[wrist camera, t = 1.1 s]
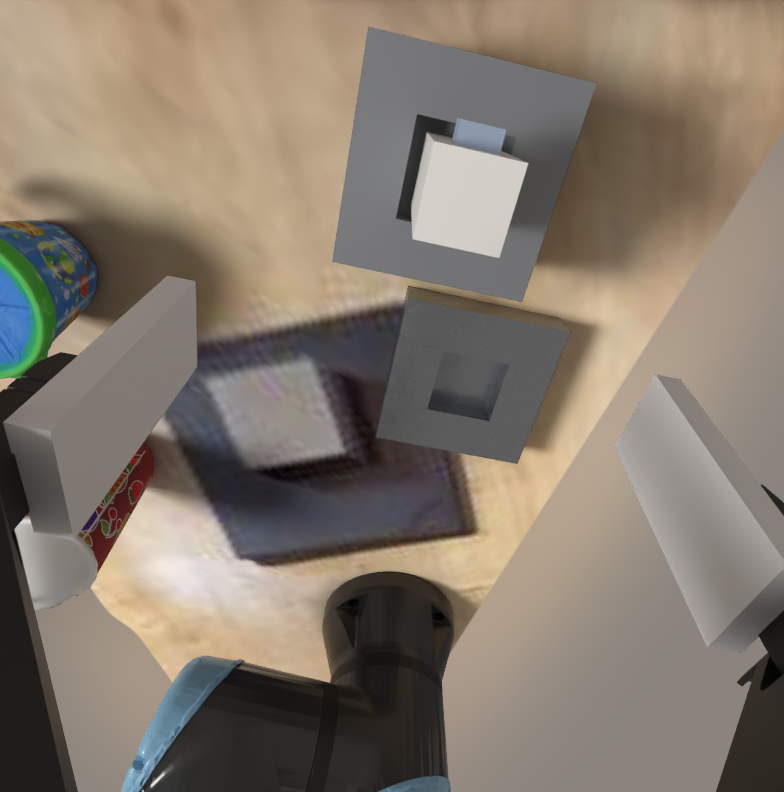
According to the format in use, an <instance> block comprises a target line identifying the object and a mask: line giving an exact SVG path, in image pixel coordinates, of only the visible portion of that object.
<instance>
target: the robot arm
mask: <svg viewBox="0 0 784 792" xmlns="http://www.w3.org/2000/svg"><path fill="white" fill-rule="evenodd" d="M196 368H197V322H196V281H192V280H187V279H182V278H177V277H172V276H166V277H165V278H164V279H163V280H162V281H161V282H160V283H159V284H157V285H156V286H155V287H154V288H153V289H152V290H151V291H150V292H148V293H147V294H146V295H145V296H144V297H143V298H142V299H141V300H139V301H138V302H137V303H136V304H135V305H134V306H133V307H132V308H131V309H129V310H128V311H127V312H126V313H125V314H124V315H123V316H122V317H120V318H119V319H118V320H117V321H116V322H115V323H114V324H113V325H111V326H110V327H109V328H108V329H107V330H106V331H105V332H104V333H103V334H101V335H100V336H99V337H98V338H97V339H96V340H95V341H94V342H92V343H91V344H90V345H89V346H88V347H87V348H86V349H85V350H84V351H82V352H81V353H80V354H79V355H78V356H77V355H72V354H67V353H62V352H60V353H58V354H56V355H53V356H51V357H48V358H46V359H44V360H41V361H39V362H37V363H36V364H34V365H33V366H32V367H31V368H29V369H28V370H27V371H26V372H25V373H23V374H22V375H21V378H17V379H16V380H15V381H14V382H12V383H11V384H10V385H9V386H8V388H7V390H6V389H4V390H3V391H1V392H0V792H78V791H77V787H76V782H75V778H74V774H73V770H72V766H71V761H70V757H69V753H68V749H67V745H66V740H65V736H64V732H63V728H62V724H61V720H60V715H59V711H58V707H57V703H56V698H55V695H54V690H53V686H52V682H51V678H50V673H49V669H48V665H47V661H46V657H45V652H44V648H43V644H42V640H41V636H40V632H39V628H38V623H37V619H36V615H35V610H34V606H33V602H32V598H31V594H30V589H29V585H28V581H27V577H26V573H25V568H24V564H23V560H22V556H21V552H20V548H19V543H18V539H17V536H16V533H15V528H16V527H17V526H18V524H19V523H20V522H21V521H22V520H23V519H24V517H25V516H26V515H27V514H28V513H29V517H30V520H31V524H32V528H33V531H34V533H36V534H42V535H48V536H54V537H60V538H65V539H71V540H74V539H75V538H76V537H77V535H78V534H79V532H80V531H81V530H82V528H83V527H84V525H85V524H86V523H87V521H88V520H89V518H90V517H91V516H92V514H93V513H94V511H95V510H96V508H97V507H98V506H99V504H100V503H101V501H102V500H103V499H104V497H105V496H106V494H107V493H108V492H109V490H110V489H111V487H112V486H113V485H114V483H115V482H116V480H117V479H118V478H119V476H120V475H121V473H122V472H123V471H124V469H125V468H126V466H127V465H128V463H129V462H130V461H131V459H132V458H133V456H134V455H135V454H136V452H137V451H138V449H139V448H140V447H141V445H142V444H143V442H144V441H145V440H146V438H147V437H148V435H149V434H150V433H151V431H152V430H153V428H154V427H155V426H156V424H157V423H158V421H159V420H160V418H161V417H162V416H163V414H164V413H165V411H166V410H167V409H168V407H169V406H170V404H171V403H172V402H173V400H174V399H175V397H176V396H177V395H178V393H179V392H180V390H181V389H182V388H183V386H184V385H185V383H186V382H187V381H188V379H189V378H190V376H191V375H192V373H193V372H194V371H195V369H196ZM615 450H616V452H617V454H618V456H619V458H620V460H621V462H622V465H623V467H624V469H625V471H626V473H627V475H628V478H629V480H630V482H631V484H632V486H633V488H634V491H635V493H636V495H637V497H638V499H639V501H640V503H641V506H642V508H643V510H644V512H645V514H646V516H647V519H648V521H649V523H650V525H651V527H652V529H653V531H654V534H655V536H656V538H657V540H658V542H659V544H660V546H661V549H662V551H663V553H664V555H665V557H666V559H667V562H668V564H669V566H670V568H671V570H672V572H673V575H674V577H675V579H676V581H677V583H678V585H679V587H680V590H681V592H682V594H683V596H684V598H685V600H686V602H687V605H688V607H689V609H690V611H691V613H692V615H693V618H694V620H695V622H696V624H697V626H698V628H699V631H700V632H701V635H702V637H703V639H704V641H705V643H706V646H707V647H708V648H714V649H720V650H725V651H732V652H737V653H742V652H743V651H744V650H745V649H746V648H747V647H748V646H750V644H752V642H754V641H755V640H756V639H757V638H758V637H760V639H761V640H762V643H763V644H764V646H765V648H766V650H767V651H768V653H767V654H766V655H765V656H764V657H763V658H762V659H761V660H759V661H758V662H757V663H756V664H755V665H754V666H753V667H752V668H751V669H750V670H748V671H747V672H746V673H745V674H744V675H743V676H742V677H741V678H740V679H739V680H738V682H737V683H738V684H740V685H741V686H743V685H744V684H745V683H746V682H748V681H752V682H751V685H750V689H749V691H748V694H747V698H746V701H745V704H744V707H743V710H742V713H741V716H740V719H739V722H738V725H737V729H736V732H735V735H734V738H733V741H732V744H731V747H730V750H729V754H728V757H727V760H726V763H725V766H724V769H723V772H722V775H721V778H720V781H719V784H718V787H717V791H716V792H784V503H783V502H782V501H781V500H780V499H779V498H778V497H776V496H775V495H774V494H773V493H772V492H770V491H769V490H768V489H767V488H766V487H765V486H763V485H760V484H759V483H758V482H757V480H756V479H755V477H754V476H753V475H752V473H751V472H750V471H749V469H748V468H747V467H746V465H745V464H744V463H743V461H742V460H741V459H740V457H739V456H738V455H737V453H736V452H735V451H734V449H733V448H732V447H731V446H730V444H729V443H728V442H727V440H726V439H725V438H724V436H723V435H722V434H721V432H720V431H719V430H718V428H717V427H716V426H715V425H714V423H713V422H712V421H711V419H710V418H709V416H708V415H707V414H706V413H705V411H704V410H703V408H702V407H701V406H700V404H699V403H698V402H697V401H696V399H695V398H694V397H693V395H692V394H691V393H690V391H689V390H688V389H687V388H686V386H685V385H684V383H683V382H682V381H681V379H675V378H671V377H666V376H660V375H655V376H654V378H653V379H652V381H651V383H650V385H649V387H648V388H647V390H646V392H645V394H644V395H643V397H642V399H641V401H640V402H639V405H638V406H637V408H636V410H635V411H634V413H633V415H632V417H631V419H630V420H629V422H628V424H627V426H626V427H625V429H624V431H623V433H622V435H621V436H620V438H619V440H618V442H617V443H616V445H615ZM322 630H323V638H324V643H325V648H326V653H327V658H328V663H329V668H330V673H331V682H330V683H328V682H323V681H320V680H316V679H312V678H307V677H303V676H299V675H294V674H290V673H286V672H282V671H278V670H274V669H270V668H266V667H262V666H258V665H254V664H250V663H246V662H245V661H244V660H242V659H239V660H228V659H222V658H217V657H211V656H201V657H197V658H195V659H193V660H192V661H190V662H189V663H188V664H187V665H186V666H185V667H184V668H183V669H182V670H181V672H180V673H179V674H178V676H177V677H176V679H175V680H174V682H173V683H172V685H171V687H170V688H169V690H168V692H167V694H166V695H165V697H164V699H163V700H162V702H161V704H160V706H159V708H158V710H157V712H156V713H155V715H154V717H153V719H152V721H151V723H150V725H149V727H148V729H147V731H146V733H145V735H144V737H143V739H142V742H141V744H140V746H139V748H138V753H137V756H136V757H135V758H134V761H133V763H132V765H131V767H130V769H129V771H128V773H127V775H126V778H125V781H124V783H123V786H122V790H121V792H450V781H449V780H448V767H447V752H446V738H445V724H444V711H443V695H442V678H443V675H444V671H445V668H446V664H447V660H448V657H449V653H450V649H451V646H452V642H453V637H454V623H453V612H452V608H451V605H450V603H449V601H448V600H447V598H446V597H445V596H444V594H443V593H442V592H441V591H440V590H438V589H437V588H436V587H434V586H433V585H431V584H430V583H428V582H426V581H424V580H422V579H419V578H417V577H414V576H410V575H406V574H401V573H389V572H384V573H372V574H367V575H363V576H360V577H357V578H354V579H352V580H350V581H348V582H346V583H344V584H343V585H341V586H340V587H339V588H337V589H336V590H335V591H334V592H333V594H332V595H331V596H330V598H329V599H328V601H327V604H326V607H325V612H324V619H323V627H322Z"/></svg>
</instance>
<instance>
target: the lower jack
mask: <svg viewBox="0 0 784 792" xmlns="http://www.w3.org/2000/svg"><path fill="white" fill-rule="evenodd" d="M569 334H570V331H569V330H568V328H567V327H566V326H565V324H564V323H563V321H562V320H561V319H560V318H556V317H551V316H547V315H542V314H537V313H532V312H528V311H523V310H518V309H513V308H509V307H504V306H499V305H495V304H490V303H485V302H480V301H476V300H471V299H466V298H461V297H457V296H452V295H447V294H443V293H438V292H433V291H428V290H424V289H419V288H414V287H410V286H408V288H407V292H406V297H405V301H404V306H403V310H402V314H401V319H400V323H399V327H398V332H397V336H396V341H395V345H394V349H393V354H392V358H391V362H390V367H389V371H388V375H387V380H386V384H385V389H384V393H383V397H382V402H381V406H380V410H379V415H378V419H377V429H376V437H378V438H383V439H388V440H394V441H399V442H404V443H410V444H415V445H420V446H426V447H431V448H436V449H441V450H447V451H452V452H457V453H463V454H468V455H473V456H479V457H484V458H489V459H495V460H500V461H505V462H511V463H516V464H518V461H519V459H520V456H521V454H522V451H523V449H524V446H525V444H526V441H527V439H528V436H529V434H530V431H531V429H532V426H533V424H534V421H535V419H536V416H537V414H538V411H539V409H540V406H541V404H542V401H543V399H544V396H545V394H546V391H547V389H548V386H549V384H550V381H551V379H552V376H553V374H554V371H555V369H556V366H557V364H558V361H559V359H560V356H561V354H562V351H563V349H564V346H565V344H566V341H567V339H568V336H569Z"/></svg>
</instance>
